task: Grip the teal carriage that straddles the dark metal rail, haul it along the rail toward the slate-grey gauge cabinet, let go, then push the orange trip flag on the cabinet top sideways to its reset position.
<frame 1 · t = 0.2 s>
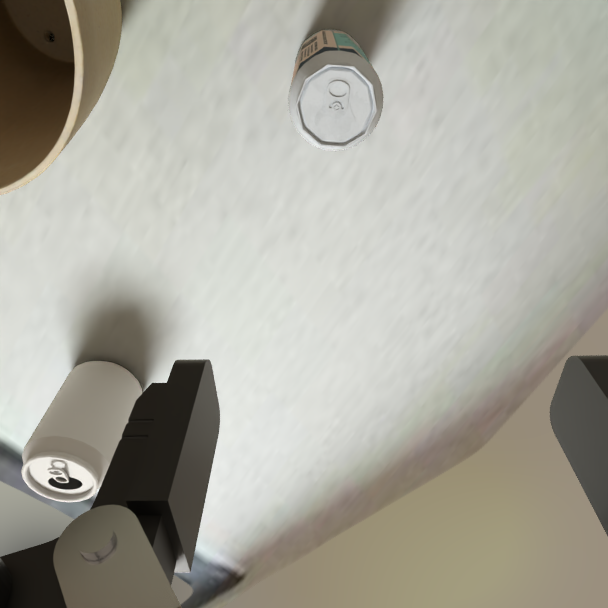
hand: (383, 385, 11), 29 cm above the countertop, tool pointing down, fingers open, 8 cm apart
beer can: (329, 67, 34), on the countertop
can: (109, 381, 51), on the countertop
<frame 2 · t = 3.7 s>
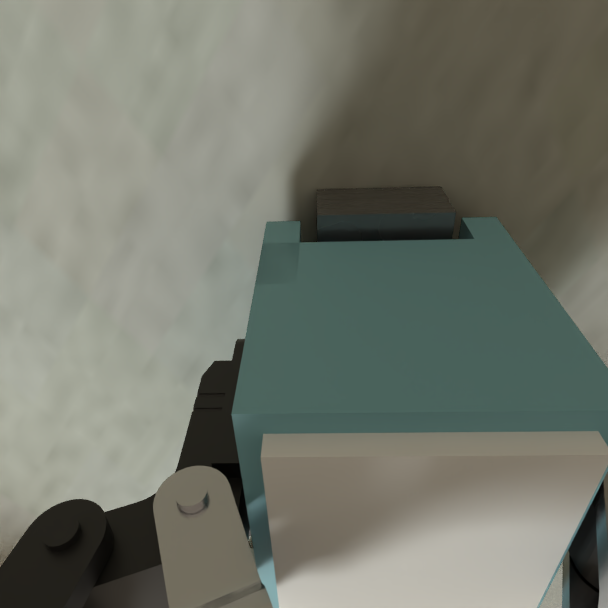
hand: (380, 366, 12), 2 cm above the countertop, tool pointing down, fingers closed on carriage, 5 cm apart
carriage: (389, 410, 11), point 4 cm above the countertop, slide at 0.0 cm, touching gripper
rail: (365, 417, 16), on the countertop
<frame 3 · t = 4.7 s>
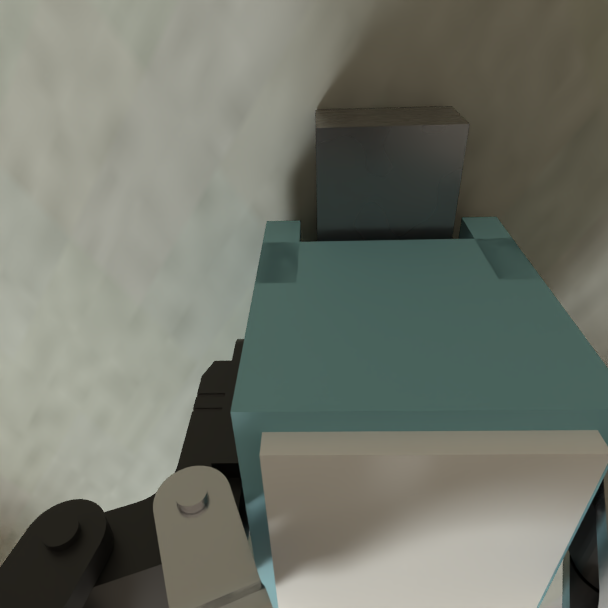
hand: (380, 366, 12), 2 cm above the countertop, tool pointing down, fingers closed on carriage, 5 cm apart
carriage: (389, 410, 11), point 4 cm above the countertop, slide at 1.9 cm, touching gripper
rail: (367, 376, 15), on the countertop
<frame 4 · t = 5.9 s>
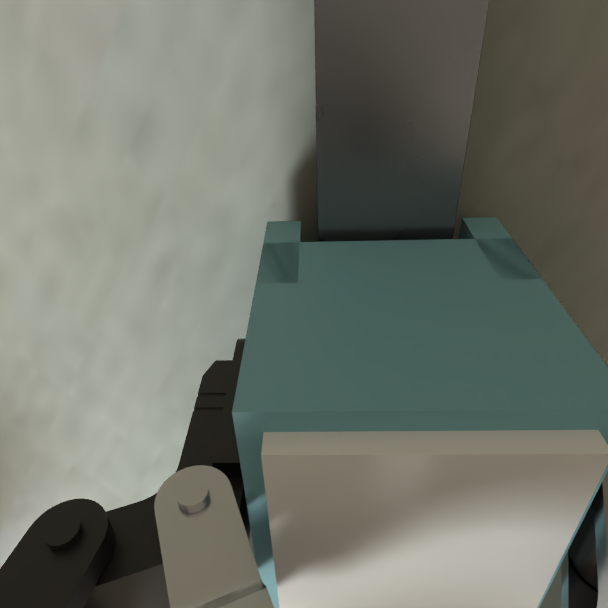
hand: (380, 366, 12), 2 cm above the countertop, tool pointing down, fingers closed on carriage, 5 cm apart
gauge cabinet: (361, 485, 18), on the countertop
carriage: (390, 410, 11), point 4 cm above the countertop, slide at 7.3 cm, touching gripper
rail: (377, 213, 12), on the countertop
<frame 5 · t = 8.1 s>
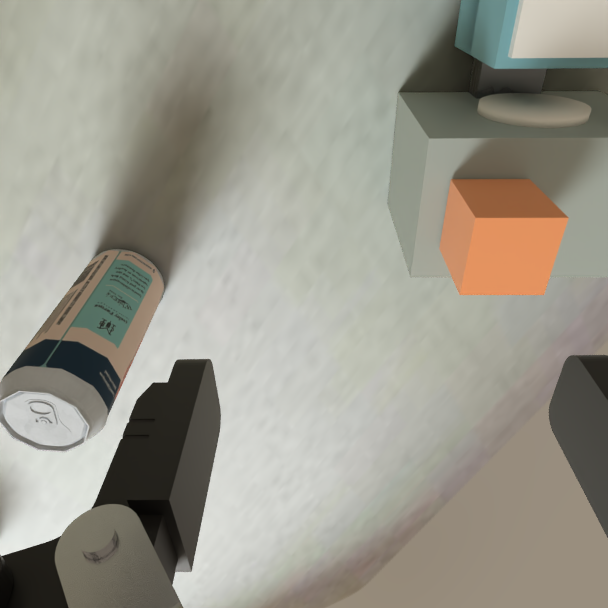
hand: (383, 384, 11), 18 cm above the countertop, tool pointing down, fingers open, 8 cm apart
beer can: (129, 276, 31), on the countertop
gauge cabinet: (486, 151, 26), on the countertop
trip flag: (495, 235, 18), point 10 cm above the countertop, slide at 0.0 cm
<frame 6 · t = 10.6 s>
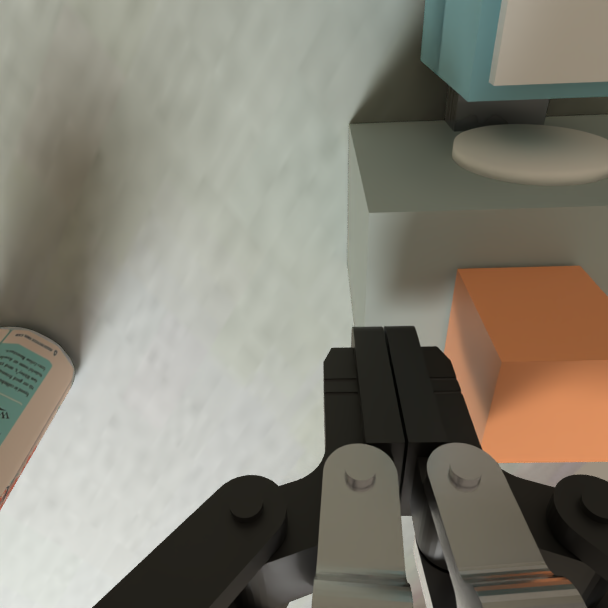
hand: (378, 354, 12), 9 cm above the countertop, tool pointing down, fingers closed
beer can: (32, 355, 25), on the countertop
gauge cabinet: (472, 196, 20), on the countertop
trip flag: (530, 359, 12), point 10 cm above the countertop, slide at 1.2 cm, touching gripper
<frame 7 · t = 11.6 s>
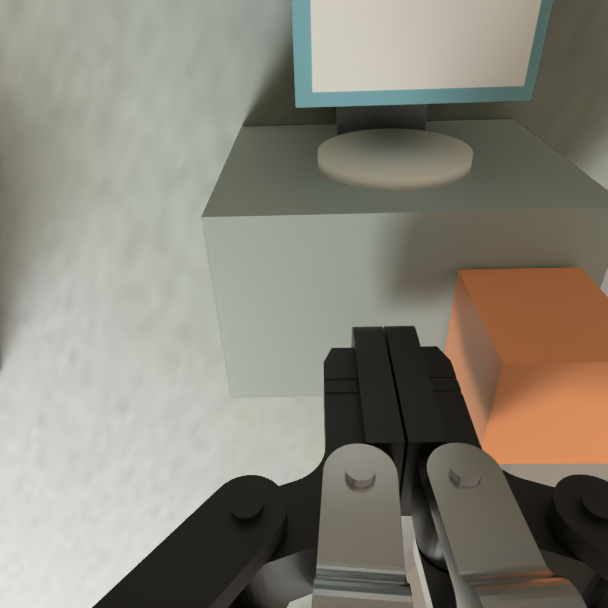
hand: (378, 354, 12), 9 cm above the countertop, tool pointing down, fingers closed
gauge cabinet: (372, 199, 20), on the countertop
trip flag: (531, 361, 12), point 10 cm above the countertop, slide at 5.2 cm, touching gripper
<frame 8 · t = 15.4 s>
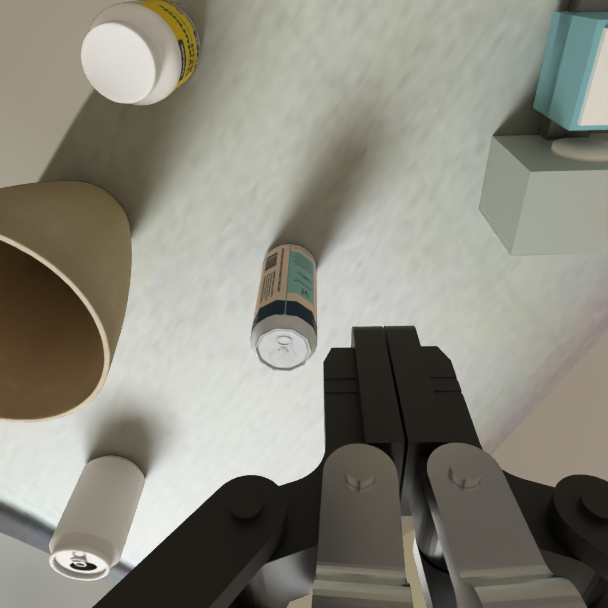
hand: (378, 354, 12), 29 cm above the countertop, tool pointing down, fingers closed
beer can: (289, 263, 44), on the countertop
gauge cabinet: (548, 172, 39), on the countertop
supplement bottle: (164, 42, 34), on the countertop
carriage: (605, 68, 31), point 4 cm above the countertop, slide at 7.4 cm
rail: (590, 12, 33), on the countertop
can: (117, 469, 61), on the countertop
plant pot: (85, 220, 42), on the countertop
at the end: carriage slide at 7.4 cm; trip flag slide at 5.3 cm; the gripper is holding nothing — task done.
